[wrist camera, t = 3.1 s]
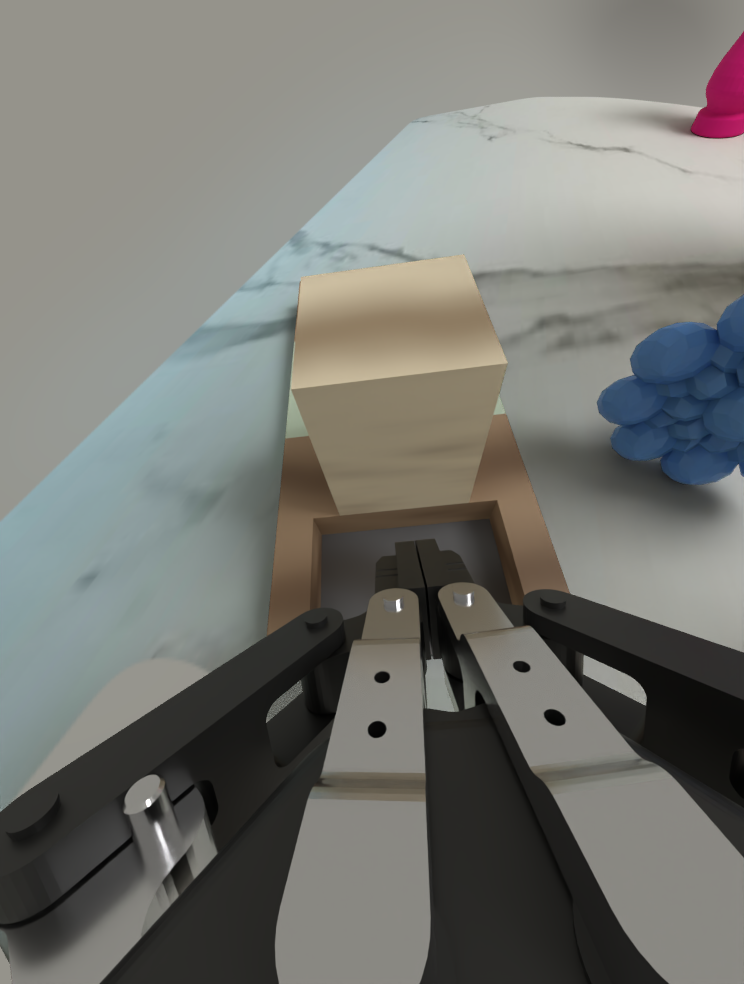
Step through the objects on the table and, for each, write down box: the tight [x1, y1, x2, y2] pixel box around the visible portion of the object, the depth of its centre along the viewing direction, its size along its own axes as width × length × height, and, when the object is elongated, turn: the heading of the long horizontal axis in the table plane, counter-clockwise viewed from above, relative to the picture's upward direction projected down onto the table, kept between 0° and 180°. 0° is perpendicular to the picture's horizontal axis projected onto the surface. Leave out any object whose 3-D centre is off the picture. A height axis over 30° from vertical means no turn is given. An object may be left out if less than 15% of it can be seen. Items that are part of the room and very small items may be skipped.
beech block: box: [291, 255, 508, 516], centre depth 17 cm, size 7×7×9 cm
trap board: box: [267, 281, 570, 655], centre depth 25 cm, size 32×14×2 cm, turn 3°
